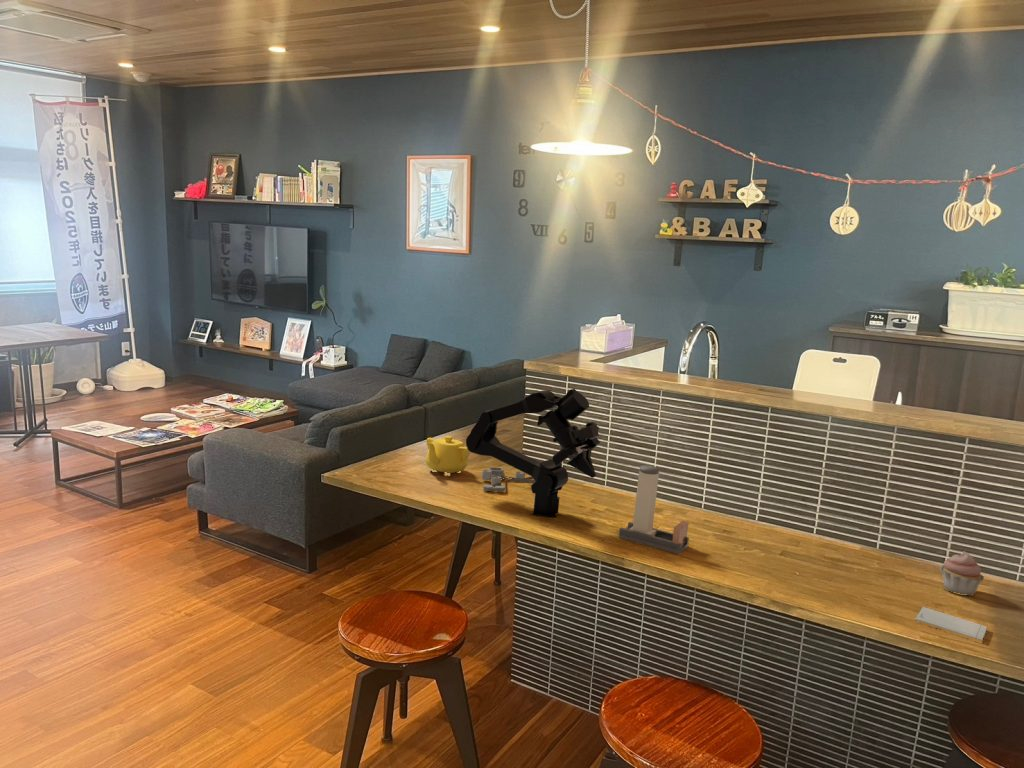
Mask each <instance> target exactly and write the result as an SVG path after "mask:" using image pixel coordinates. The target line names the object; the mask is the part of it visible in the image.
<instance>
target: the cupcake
mask: <svg viewBox="0 0 1024 768" xmlns="http://www.w3.org/2000/svg"><path fill="white" fill-rule="evenodd" d="M939 570H940V572H941V575H942V581H943V588H944V587H945V588H946V589H948V590H950V591H952V592H956V593H960V594H967V595H972V594H974V593H975V594H976V592H977V590H978V588H979V586H980V584H981V583H982V582H983V581H984V578H985V576H984V575H982V573H981V572H982V569H981V567H980V564H978V563H977V561H976V560H975V558H974V557H973V556H972V555H971V554H969V553H968V552H966V551H965V550H964V551H963V552H962V553H961V554H953V555H952V556H950V557H949V558H947V559H945V561H944V562H943V564H941V567H939ZM945 588H944V589H945ZM946 589H945V590H946ZM948 590H947V591H948ZM952 592H951V593H952ZM975 594H974V595H975Z"/></svg>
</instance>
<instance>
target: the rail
mask: <svg viewBox="0 0 1024 768" xmlns="http://www.w3.org/2000/svg"><path fill="white" fill-rule="evenodd" d="M631 527H633V522H631V521H629V522H627V528H625V527H624V528H623V527H620V528H619V531H618V532H619V533H618V536H617V537H618V539H622V540H624V541H629V542H632V543H636V544H639V545H644V546H647V547H650V548H655V549H657V550H662V551H665V552H669V553H672V554H677V555H681V553H683V552H684V551H685V550H686V549H687V548H688V547H689V542H690V541H689V540H690V537H688V531H689V530H688V529H689V521H685V520H681V521H680V522H679V523H678V524H676V525H675V526H674V527H673V531H672V532H673V533H672V532H670V531H665V530H662V529H658V528H655V527H653V529H652V530H655V531H656V535H655V536H651V535H647V534H644V533H640V532H636V531H632V530H629V529H630V528H631Z"/></svg>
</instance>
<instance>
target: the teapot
mask: <svg viewBox="0 0 1024 768" xmlns="http://www.w3.org/2000/svg"><path fill="white" fill-rule="evenodd" d="M426 446H427V448H428V451H427V453H426V456H425V463H426V465H427V467H428V468H429V469H433V470H436V471H437V472H441V473H444V472H447V473H451V474H452V473H455V472H459V471H462V472H463V470H465V469H466V468H467V467H468V464H469V456H470V454H471V452H470V451H469V450H468V449H467V446H465V445H464V442H462V441H461V440H459V439H454V438H453V436H451V435H445V436H444V437H443V438H438V439H435V438H432V437H427V439H426Z"/></svg>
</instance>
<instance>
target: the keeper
mask: <svg viewBox="0 0 1024 768" xmlns="http://www.w3.org/2000/svg"><path fill="white" fill-rule="evenodd" d="M659 477H660V469H659V468H658V467H656V466H654V465H644V464H643V465H641V466H639V471H638V478H637V485H636V487H637V488H636V495H635V504H634V512H633V513H634V514H633V522H632V523H633V527H631V528H630V529H629V530H632V531H636V532H640V533H644V534H647V535H651V536H655V535H656V531H655V530H652V529H653V528H654V519H655V509H656V502H657V493H658V486H659Z"/></svg>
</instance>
